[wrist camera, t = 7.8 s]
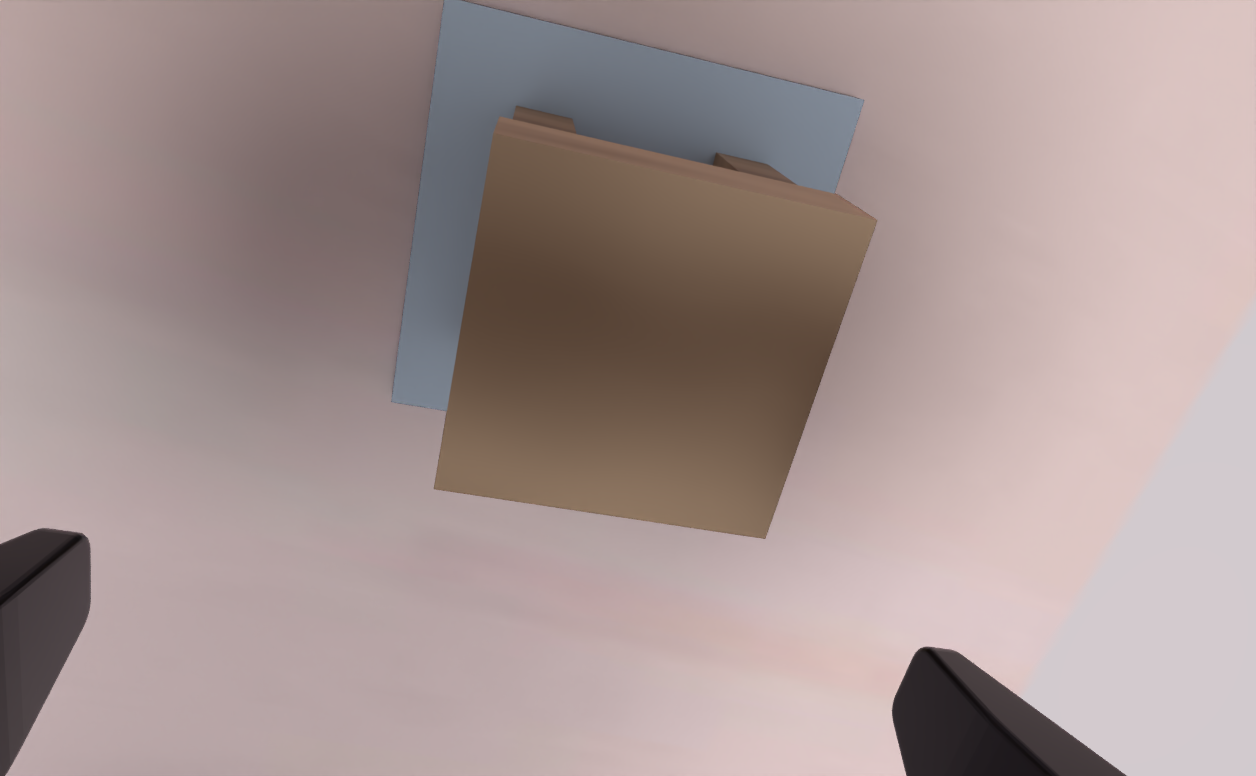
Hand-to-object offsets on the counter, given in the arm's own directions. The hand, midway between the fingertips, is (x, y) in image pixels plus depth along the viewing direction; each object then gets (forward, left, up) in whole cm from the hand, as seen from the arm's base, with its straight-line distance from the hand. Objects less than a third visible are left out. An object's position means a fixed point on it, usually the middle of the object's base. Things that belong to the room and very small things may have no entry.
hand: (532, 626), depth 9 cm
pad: (+1, -2, -12) cm, 12 cm away
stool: (+1, -2, -11) cm, 11 cm away
